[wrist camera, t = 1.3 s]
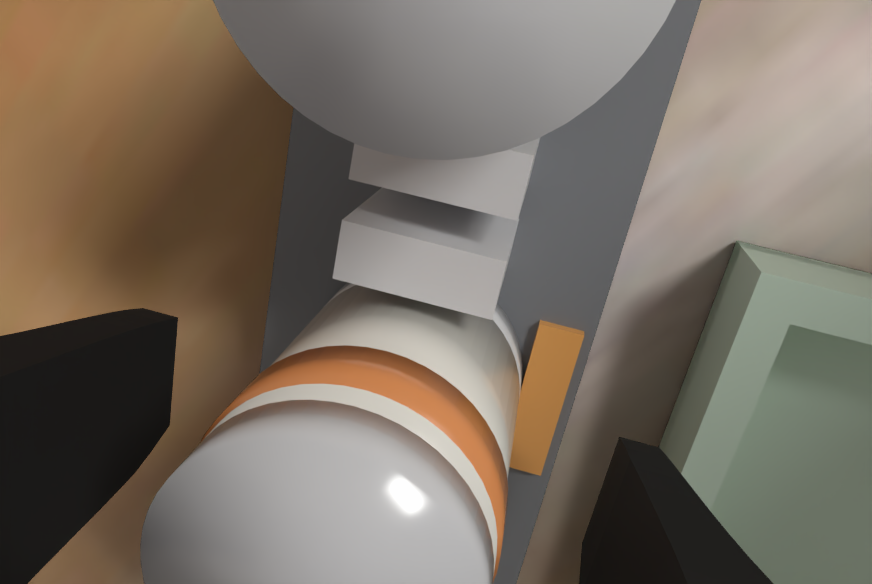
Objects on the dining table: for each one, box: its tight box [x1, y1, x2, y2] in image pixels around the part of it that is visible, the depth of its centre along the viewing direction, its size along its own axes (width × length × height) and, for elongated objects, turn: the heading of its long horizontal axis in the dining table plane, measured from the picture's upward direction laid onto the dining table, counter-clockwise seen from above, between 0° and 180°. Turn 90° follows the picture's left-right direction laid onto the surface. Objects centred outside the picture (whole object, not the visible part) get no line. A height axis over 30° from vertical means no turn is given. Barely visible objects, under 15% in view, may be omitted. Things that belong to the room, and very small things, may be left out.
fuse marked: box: [140, 283, 523, 584], centre depth 11 cm, size 4×4×6 cm
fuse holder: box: [260, 0, 701, 584], centre depth 13 cm, size 6×21×4 cm, turn 168°
